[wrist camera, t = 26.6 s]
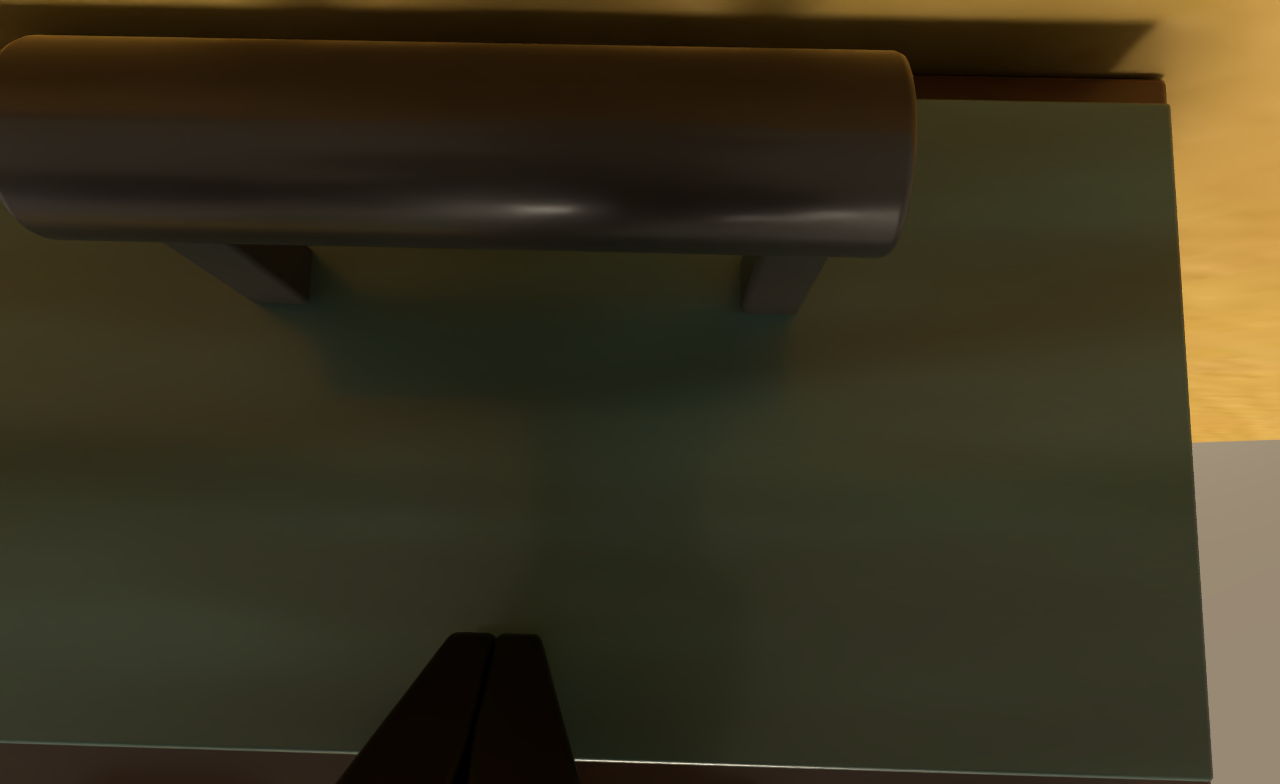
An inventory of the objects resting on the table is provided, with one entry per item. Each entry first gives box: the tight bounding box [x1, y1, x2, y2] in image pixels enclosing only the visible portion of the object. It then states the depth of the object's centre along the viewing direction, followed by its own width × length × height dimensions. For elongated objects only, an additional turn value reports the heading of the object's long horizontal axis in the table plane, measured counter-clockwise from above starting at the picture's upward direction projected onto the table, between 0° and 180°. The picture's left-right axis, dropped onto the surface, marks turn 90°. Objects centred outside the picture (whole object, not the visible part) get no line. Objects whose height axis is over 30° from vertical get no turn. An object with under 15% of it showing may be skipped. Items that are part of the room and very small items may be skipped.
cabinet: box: [0, 75, 1211, 784], centre depth 17 cm, size 12×15×9 cm
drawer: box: [0, 35, 1213, 782], centre depth 13 cm, size 15×13×7 cm
